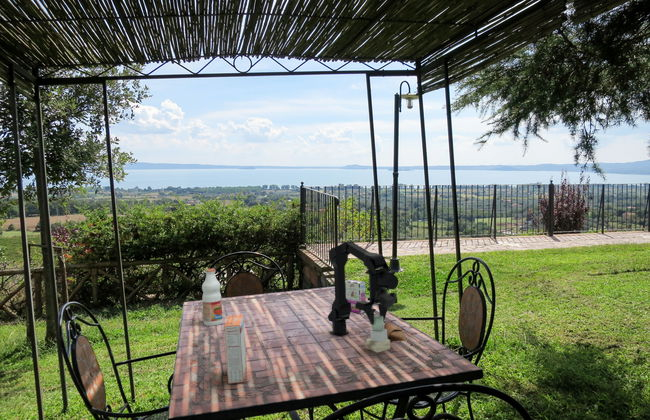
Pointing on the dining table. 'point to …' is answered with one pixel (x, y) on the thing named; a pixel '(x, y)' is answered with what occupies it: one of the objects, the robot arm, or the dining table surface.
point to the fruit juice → (211, 299)
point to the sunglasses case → (394, 332)
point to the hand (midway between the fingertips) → (377, 323)
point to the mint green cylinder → (378, 323)
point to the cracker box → (235, 349)
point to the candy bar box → (355, 294)
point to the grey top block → (378, 335)
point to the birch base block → (377, 345)
